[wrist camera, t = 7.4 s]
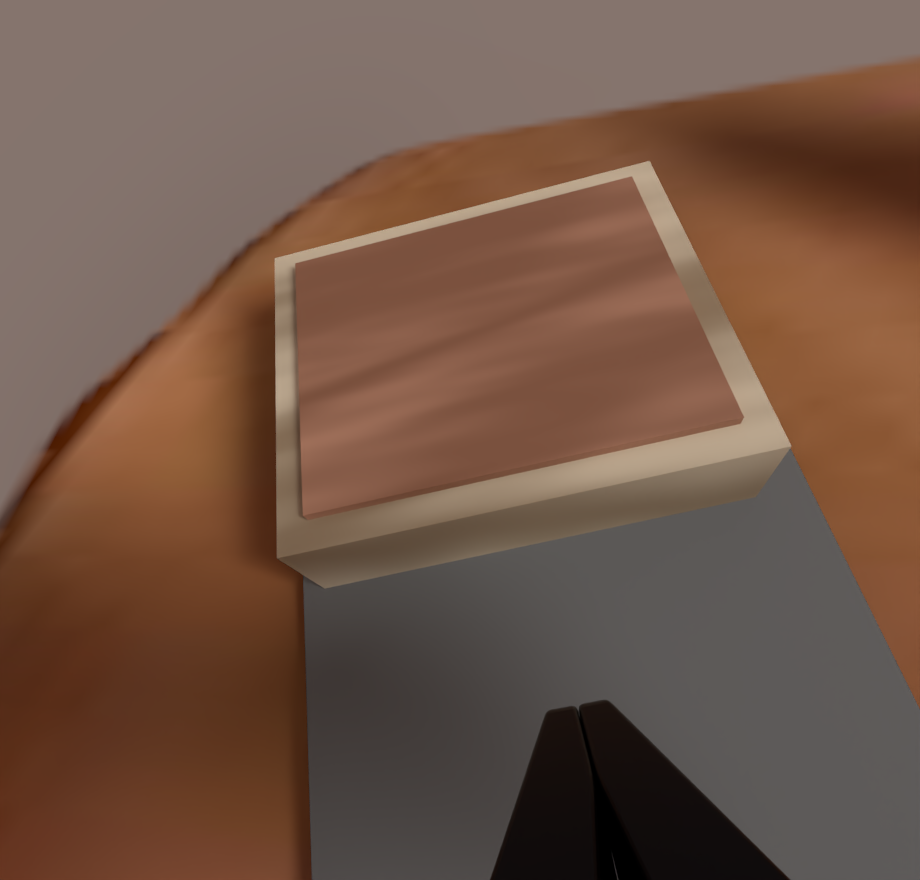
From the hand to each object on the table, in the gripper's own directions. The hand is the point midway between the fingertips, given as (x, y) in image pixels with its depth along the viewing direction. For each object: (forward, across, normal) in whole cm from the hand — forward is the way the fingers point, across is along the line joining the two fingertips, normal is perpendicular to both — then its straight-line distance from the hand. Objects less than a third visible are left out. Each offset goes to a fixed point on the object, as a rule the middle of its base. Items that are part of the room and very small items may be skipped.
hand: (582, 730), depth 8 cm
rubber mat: (+9, 0, +1) cm, 9 cm away
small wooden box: (+7, 0, 0) cm, 7 cm away
